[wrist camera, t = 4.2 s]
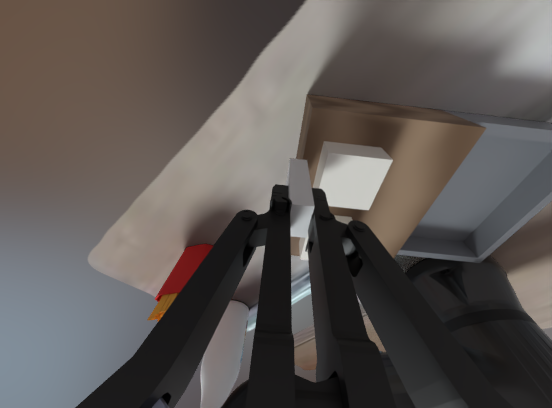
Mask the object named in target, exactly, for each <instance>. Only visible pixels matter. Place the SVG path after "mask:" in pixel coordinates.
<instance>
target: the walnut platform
mask: <svg viewBox="0 0 552 408" xmlns="http://www.w3.org/2000/svg"><path fill="white" fill-rule="evenodd" d="M485 130H486V127H483V126H481V125H478V124H476V123H473V122H471V121H468V120H465V119H463V118H460V117H458V116H455V115H453V114H450V113H448V112H445V111H442V110H436V109H428V108H419V107H410V106H402V105H393V104H385V103H376V102H367V101H359V100H350V99H342V98H333V97H325V96H316V95H307V97H306V103H305V109H304V115H303V121H302V127H301V133H300V139H299V145H298V151H297V157H296V159H302V160H307V163H308V169H309V175H310V181H311V187H312V188H313V184H314V180H315V176H316V171H317V167H318V163H319V159H320V155H321V151H322V147H323V143H324V141H327V142H336V143H345V144H354V145H363V146H372V147H381V148H382V149H383V150H384V151H385V152H386V153H387V154H388V155H389V156H390V157H391V158H392V159H393V161H392V163H391V165H390V167H389V169H388V172H387V174H386V176H385V178H384V180H383V182H382V184H381V186H380V188H379V190H378V192H377V194H376V196H375V198H374V200H373V203H372V205H371V207H370V209H369V210H361V209H351V208H342V207H332V206H329V210H330V212H331V213H332V214H333V215H337V216H346V217H352V220H358V221H361V222H363V223H365V224H366V225H367V226H369V228H370V229H371V230H372V232H373V233H374V234H375V235H376V237H377V238H378V239H379V241H380V242H381V243H382V244H383V246H384V247H385V248H386V250H387V251H388V252H389V254H390V255H391V256H392V257H393V259H394V257H395V256H396V254H397V253H398V252H399V250H400V249H401V247H402V246H403V245H404V243H405V242H406V240H407V239H408V238H409V236H410V235H411V233H412V232H413V231H414V229H415V228H416V226H417V225H418V224H419V222H420V221H421V219H422V218H423V217H424V215H425V214H426V212H427V211H428V210H429V208H430V207H431V205H432V204H433V203H434V201H435V200H436V198H437V197H438V196H439V194H440V193H441V191H442V190H443V189H444V187H445V186H446V184H447V183H448V182H449V180H450V179H451V177H452V176H453V175H454V173H455V172H456V170H457V169H458V168H459V166H460V165H461V163H462V162H463V161H464V159H465V158H466V156H467V155H468V154H469V152H470V151H471V149H472V148H473V147H474V145H475V144H476V142H477V141H478V140H479V138H480V137H481V135H482V134H483V133H484V131H485ZM299 241H300V237H292V236H291V255H295V256H300V251H299Z"/></svg>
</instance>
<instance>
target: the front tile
mask: <svg viewBox="0 0 552 408" xmlns="http://www.w3.org/2000/svg"><path fill="white" fill-rule="evenodd" d="M392 161H393V159H392V158H391V157H390V156H389V155H388V154H387V153H386V152H385V151H384V150H383V149H382V148H381V147H372V146H363V145H354V144H345V143H336V142H327V141H324V143H323V147H322V151H321V155H320V159H319V163H318V167H317V171H316V176H315V180H314V184H313V188H319V189H322V190H323V191H324V192H325V194H326V198H327V202H328V206H332V207H342V208H351V209H361V210H369V209H370V207H371V205H372V203H373V200H374V198H375V196H376V194H377V192H378V190H379V188H380V186H381V184H382V182H383V180H384V178H385V176H386V174H387V172H388V169H389V167H390V165H391V163H392Z"/></svg>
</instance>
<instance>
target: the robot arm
mask: <svg viewBox="0 0 552 408" xmlns="http://www.w3.org/2000/svg"><path fill="white" fill-rule="evenodd" d="M307 234H308V241H307V245H306V249H305V252H307V249H308V260H309V272H310V283H311V294H312V305H313V316H314V328H315V339H316V350H317V366H316V383H314V382H311V381H309V380H306V379H304V378H302V377H299V376H297V375H295V369H294V338H293V334H292V328H291V327H292V325H291V236H292V237H302V238H307ZM264 245H265V253H264V261H263V269H262V278H261V286H260V294H259V303H258V311H257V319H256V327H255V334H254V341H253V350H252V357H251V365H250V374H249V379H248V380H247V381H245V382H244V383H242V384H241V385H240V386H239V387H237V388H236V389H235V390H234V391H233V393H231V395H230V396H229V397H228V398H227V400H226V401H225V402H224V404H223V405H222V406H221V408H552V340H551V339H550V338H549V337H548V336H547V335H546V334H545V333H544V331H543V330H542V329H541V328H540V327H539V326H538V325H537V324H536V323H535V322H534V320H533V319H532V318H531V317H530V316H529V315H528V314H527V313H526V312H525V311H524V309H523V308H522V306H521V304H520V302H519V300H518V298H517V296H516V293H515V291H514V289H513V288H512V286H511V284H510V282H509V280H508V278H507V274H506V272H505V270H504V269H503V268H502V267H501V266H500V265H499V264H498V262H497V261H496V260H495V259H494V258H493V257H491V256H490V255H489V256H488V257H486V258H485V259H484V260H483V261H482V262H481V263H474V262H465V261H455V260H445V259H435V258H428V259H426V260H423V261H421V262H420V263H418V264H416V265H415V266H413V267H412V268H411V269H410V270H408V271H407V273H406V274H405V273H404V272H403V270H402V269H401V268H400V266H399V265H398V264H397V263H396V261H395V260H394V259H393V257H392V256H391V255H390V254H389V252H388V251H387V250H386V248H385V247H384V246H383V244H382V243H381V242H380V241H379V239H378V238H377V237H376V235H375V234H374V233H373V232H372V230H371V229H370V228H369V226H367V225H366V224H365V223H363V222H361V221H358V220H352V221H350V222H349V223H348V224H345V223H342V222H339V221H337V220H336V218H335V216H334V215H333V214H332V213H331V212H330V210H329V206H328V202H327V198H326V194H325V192H324V191H323V190H322V189H319V188H312V187H311V181H310V175H309V169H308V163H307V160H302V159H293V158H290V160H289V167H288V174H287V181H286V185H275V186H274V187H273V188H272V197H271V200H270V210H269V211H268V212H267V213H264V214H261V215H257V214H256V213H255V212H254V211H251V210H242V211H240V212H238V213H237V214H236V216H235V217H234V218H233V220H232V221H231V223H230V224H229V225H228V227H227V228H226V229H225V231H224V232H223V234H222V235H221V236H220V238H219V239H218V240H217V242H216V243H215V245H214V246H213V247H212V249H211V250H210V251H209V253H208V254H207V256H206V257H205V258H204V260H203V261H202V262H201V264H200V265H199V266H198V268H197V269H196V271H195V272H194V273H193V275H192V276H191V277H190V279H189V280H188V282H187V283H186V284H185V286H184V287H183V288H182V290H181V291H180V293H179V294H178V295H177V297H176V298H175V299H174V301H173V302H172V304H171V305H170V306H169V308H168V309H167V310H166V312H165V313H164V315H163V316H162V317H161V319H160V320H159V321H158V323H157V324H156V326H155V327H154V328H153V330H152V331H151V333H150V334H149V335H148V337H147V338H146V339H145V341H144V342H143V344H142V345H141V346H140V348H139V349H138V350H137V352H136V353H135V354H134V356H133V357H132V358H131V359H130V360H128V361H127V362H126V363H125V364H124V365H123V366H122V367H121V368H120V369H118V370H117V371H116V372H115V373H114V374H113V375H112V376H110V377H109V378H108V379H107V380H106V381H105V382H104V383H103V384H102V385H100V386H99V387H98V388H97V389H96V390H95V391H94V392H92V393H91V394H90V395H89V396H88V397H87V398H86V399H85V400H83V401H82V402H81V403H80V404H79V405H78V406H77V407H76V408H174V407H175V405H176V404H177V402H178V401H179V399H180V398H181V396H182V395H183V393H184V391H185V390H186V388H187V386H188V384H189V382H190V380H191V379H192V377H193V375H194V373H195V371H196V369H197V367H198V365H199V363H200V361H201V359H202V357H203V355H204V353H205V351H206V349H207V347H208V345H209V343H210V341H211V339H212V337H213V335H214V333H215V331H216V329H217V327H218V325H219V322H220V320H221V318H222V316H223V314H224V312H225V310H226V308H227V306H228V304H229V302H230V300H231V298H232V296H233V294H234V292H235V290H236V288H237V286H238V284H239V282H240V280H241V278H242V276H243V274H244V272H245V270H246V268H247V266H248V264H249V262H250V260H251V258H252V256H253V254H254V252H255V250H256V247H258V246H264ZM356 294H357V295H356ZM357 296H358V298H359V300H360V302H361V303H362V305H363V307H364V309H365V311H366V313H367V315H368V317H369V319H370V321H371V323H372V325H373V327H374V329H375V331H376V333H377V334H378V336H379V338H380V340H381V342H382V344H383V346H384V348H385V350H386V352H382V351H379V349H378V347H377V346H376V344H375V343H374V342H372V341H371V340H370V339H369V338H368V335H367V332H366V328H365V325H364V321H363V317H362V314H361V310H360V306H359V303H358V299H357Z"/></svg>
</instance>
